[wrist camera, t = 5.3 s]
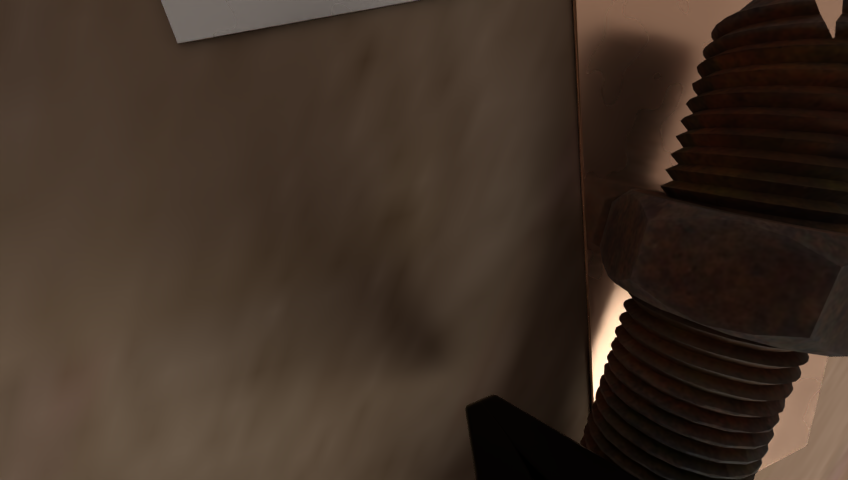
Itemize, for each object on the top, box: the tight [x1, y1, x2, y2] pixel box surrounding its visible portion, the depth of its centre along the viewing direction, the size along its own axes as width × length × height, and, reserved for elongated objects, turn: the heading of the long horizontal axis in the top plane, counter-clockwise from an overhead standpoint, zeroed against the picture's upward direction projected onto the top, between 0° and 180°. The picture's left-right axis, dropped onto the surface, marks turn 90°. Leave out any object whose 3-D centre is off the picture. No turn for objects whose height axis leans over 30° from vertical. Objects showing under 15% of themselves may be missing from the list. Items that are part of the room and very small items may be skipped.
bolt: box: [580, 0, 848, 480], centre depth 9 cm, size 6×5×15 cm
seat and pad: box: [161, 0, 843, 471], centre depth 11 cm, size 19×17×1 cm
